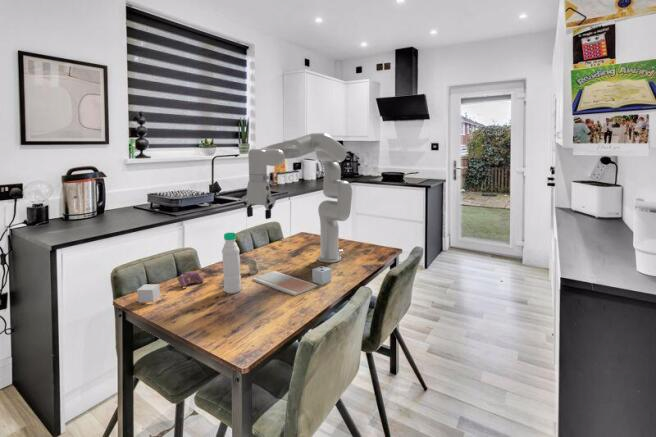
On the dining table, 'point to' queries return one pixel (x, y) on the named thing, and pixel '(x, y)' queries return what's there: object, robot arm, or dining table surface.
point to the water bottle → (231, 264)
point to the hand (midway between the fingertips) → (259, 217)
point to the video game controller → (190, 274)
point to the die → (321, 275)
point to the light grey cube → (148, 293)
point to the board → (285, 283)
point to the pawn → (253, 266)
